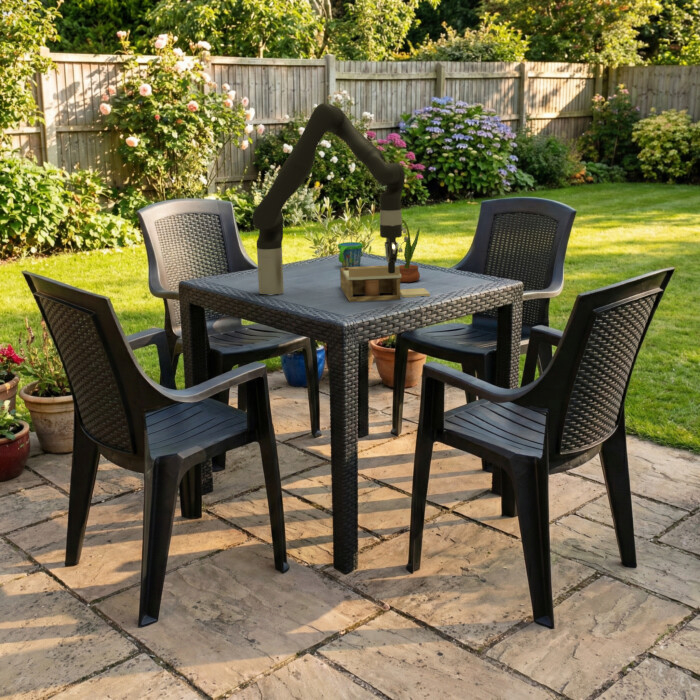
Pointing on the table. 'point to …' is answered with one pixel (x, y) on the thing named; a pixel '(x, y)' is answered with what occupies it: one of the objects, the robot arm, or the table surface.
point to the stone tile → (414, 292)
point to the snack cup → (350, 254)
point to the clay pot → (371, 287)
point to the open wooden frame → (359, 287)
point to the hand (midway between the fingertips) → (391, 272)
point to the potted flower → (409, 258)
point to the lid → (371, 273)
